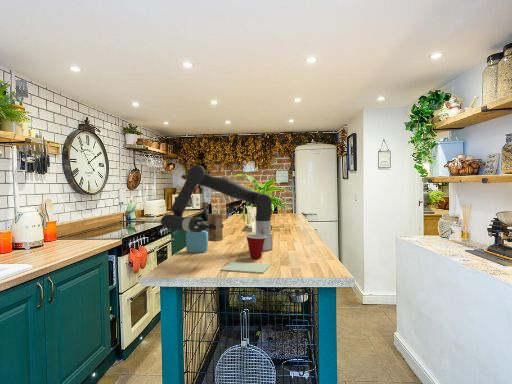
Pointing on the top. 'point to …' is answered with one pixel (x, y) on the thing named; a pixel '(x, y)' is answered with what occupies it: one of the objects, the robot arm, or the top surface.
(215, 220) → the walnut block
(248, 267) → the mat
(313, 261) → the top surface
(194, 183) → the robot arm
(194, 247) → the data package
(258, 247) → the plastic cup
